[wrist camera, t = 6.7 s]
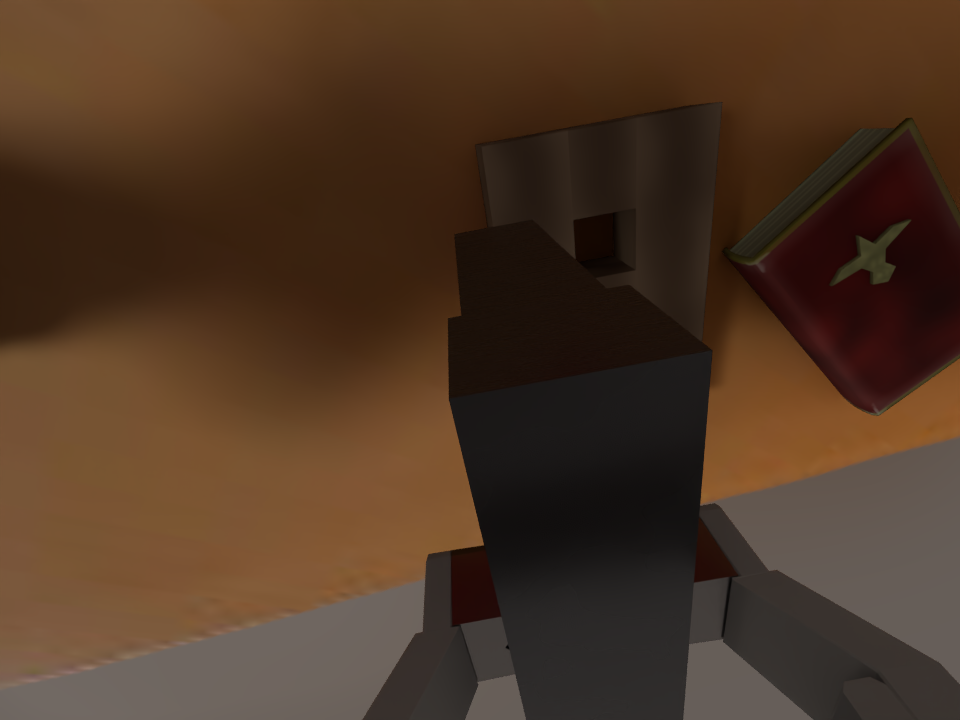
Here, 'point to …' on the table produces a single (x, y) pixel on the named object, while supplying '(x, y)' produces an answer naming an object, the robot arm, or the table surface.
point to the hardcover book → (865, 267)
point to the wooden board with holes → (620, 197)
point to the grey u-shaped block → (580, 473)
